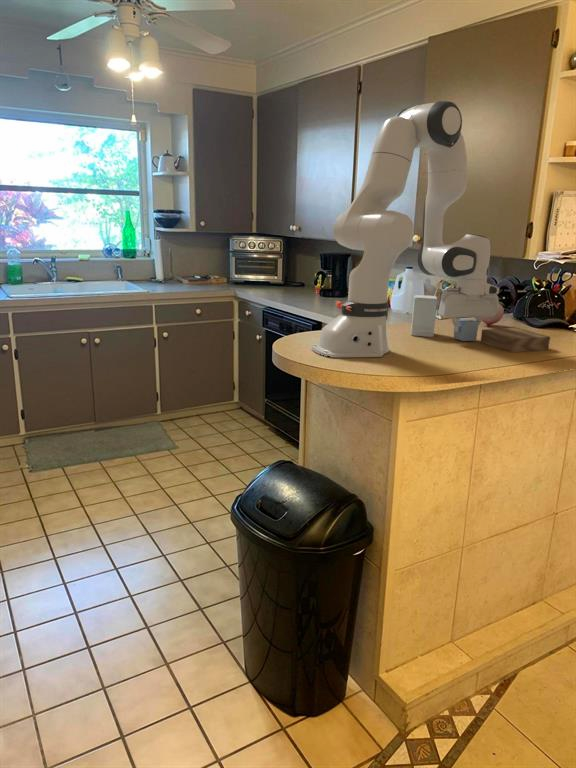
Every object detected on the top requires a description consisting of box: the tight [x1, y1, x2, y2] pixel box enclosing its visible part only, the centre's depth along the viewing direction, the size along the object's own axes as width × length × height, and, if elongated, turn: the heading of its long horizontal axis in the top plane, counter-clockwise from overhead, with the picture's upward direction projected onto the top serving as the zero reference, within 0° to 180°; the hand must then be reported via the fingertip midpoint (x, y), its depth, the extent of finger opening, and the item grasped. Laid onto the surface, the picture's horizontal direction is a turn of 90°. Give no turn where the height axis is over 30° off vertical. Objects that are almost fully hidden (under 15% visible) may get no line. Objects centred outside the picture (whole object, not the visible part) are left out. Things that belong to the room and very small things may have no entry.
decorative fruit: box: [481, 301, 506, 326], centre depth 209 cm, size 9×8×10 cm
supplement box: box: [410, 294, 438, 338], centre depth 190 cm, size 7×7×13 cm
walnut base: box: [480, 327, 551, 353], centre depth 178 cm, size 14×14×4 cm
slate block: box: [453, 318, 479, 342], centre depth 184 cm, size 5×5×6 cm
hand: (465, 331), depth 184 cm, fingers closed on slate block, 5 cm apart
